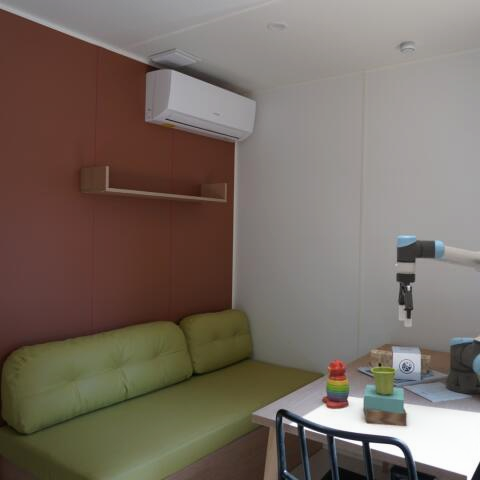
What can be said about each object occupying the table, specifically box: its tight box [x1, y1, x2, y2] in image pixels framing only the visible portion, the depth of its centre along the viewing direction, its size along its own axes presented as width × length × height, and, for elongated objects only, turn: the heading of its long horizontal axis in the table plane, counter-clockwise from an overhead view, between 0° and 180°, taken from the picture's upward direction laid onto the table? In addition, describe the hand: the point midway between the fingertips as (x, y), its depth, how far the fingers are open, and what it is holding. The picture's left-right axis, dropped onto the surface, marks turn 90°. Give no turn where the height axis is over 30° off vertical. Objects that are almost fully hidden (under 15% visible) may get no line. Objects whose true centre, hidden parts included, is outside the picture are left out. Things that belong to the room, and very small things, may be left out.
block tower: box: [370, 349, 432, 374], centre depth 256 cm, size 8×8×29 cm
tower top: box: [363, 384, 405, 414], centre depth 189 cm, size 14×14×5 cm
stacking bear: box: [321, 359, 350, 410], centre depth 203 cm, size 11×10×18 cm
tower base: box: [363, 408, 408, 427], centre depth 189 cm, size 14×14×5 cm
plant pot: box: [370, 366, 397, 395], centre depth 188 cm, size 9×9×9 cm
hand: (405, 323), depth 206 cm, fingers open, 13 cm apart
